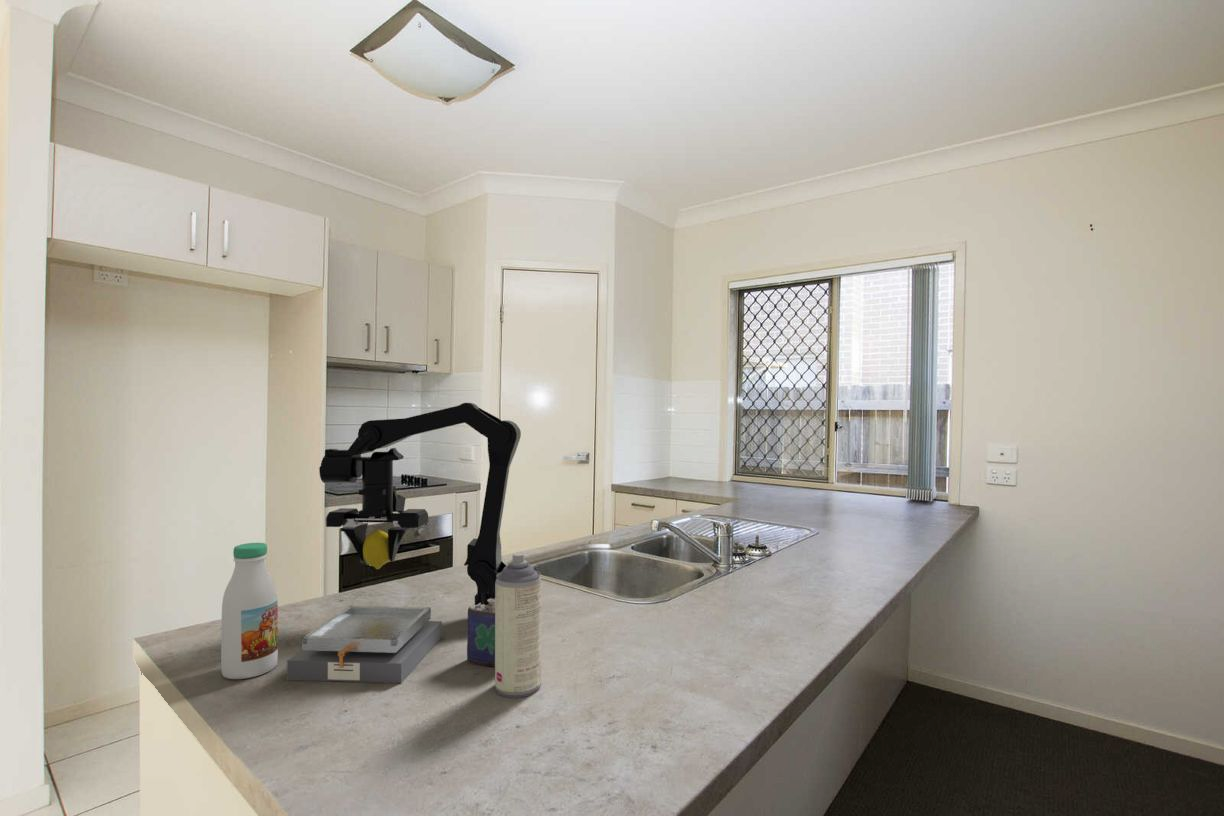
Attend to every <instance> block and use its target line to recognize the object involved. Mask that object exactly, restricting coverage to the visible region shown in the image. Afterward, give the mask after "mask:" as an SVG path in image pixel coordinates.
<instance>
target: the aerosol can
mask: <svg viewBox="0 0 1224 816" xmlns="http://www.w3.org/2000/svg"><path fill="white" fill-rule="evenodd" d="M496 577H497V579H496V582H495V667H494V689H495V693H497V695H500V696H501V697H505V698H510V699H513V698H514V699H517V698H525V697H528V696H531V695H534V694H536V693H538V691H539V690H540V688H541V686H542V685H541V684H542V683H541V682H542V675H541V674H542V579H541V573H540V572H539V570H538V571H537V570H535V568H534V567H533V565H530V563H529V562H528V561H527V560H526V559H525V553H521V552H516V553H512V560H510V562H509V563H508V564H507V566H506V567H505V568H504V569H503V570H502V572H500V573H498V574H497V575H496Z"/></svg>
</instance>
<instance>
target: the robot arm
mask: <svg viewBox="0 0 1224 816" xmlns="http://www.w3.org/2000/svg"><path fill="white" fill-rule="evenodd" d="M461 424H466V425H468V426H469V427H471V428H472V429H473V430H475V431H476V432H477V433H479V434H480V435H482V436H484V437H485V438H487V456H488V462H489V463H488V464H489V465H488V466H489V469H488V474H487V480H486V488H485V494H484V500H483V507H482V513H481V520H480V527H479V532H478V536H477V538H474V537H473V539H471V540H470V542H469V543H468V544H467V548H466V551H467V554H466V555H467V556H466V560H465V562H464V564H463V565H464V566H466V572H467V575H468V577H469V578H470V579H471V581H473V582H474V583H475V585H476V589H477V592H476V594H475V595H474V605H478V604H479V603H481V605H482V604H484V605H485V606H486V605H488V604H489V602H488V601H487V600H488V599H494V598H495V582H496V579H497V577H496V575H497V574H498V573H500V572H502V570H503V569H504V568H505V567H506V566H508V564H507V565H506V563H505V562H503V560H502V544H501V543H502V542H501V534H500V533H501V527H502V519H503V513H504V505H505V499H506V494H507V493H506V492H507V487H508V486H507V485H508V481H509V480H508V479H509V473H510V467H511V464H512V462H513V459H514V456H515V454H516V452H517V449H518V446H519V444H520V441H521V440H520V439H521V435H522V434H521V433H522V432H521V429H520V427H519V426H518V424H517V423H516V422H515V421H511V420H508V419H507V420H505V419H504V420H502V419H501V418H498V417H497V416H495V415H493V414H491V413H489V412H487V411H486V410H484V409H482V408H480V407H478V405H477V404H476V403H472V402H463V403H461V404H459V405H456V406H455V405H454V406H451V407H447V408H442V409H438V410H435V411H431V412H426V413H422V414H417V415H413V416H409V417H404V418H392V419H391V418H390V419H376V420H373V419H371V420H367V421H365V422H363V423H361V424H360V425H361V426H360V428H359V429H358V432H357V437H356V438H355V439H354V441H353V443H352V444H351V445H350V446H349V447H348V449H338V448H328V449H325V450H324V456H323V457H322V460H321V463H320V466H319V467H318V469H319V472H318V473H319V477H320V480H321V481H322V482H321V483H323V484H354V483H356V482H357V481H358V479H359V478H361V489H358V495H359V496H361V510H358V508H357V507H356V508H353V507H352V508H350V507H349V508H348V507H345V508H338V509H335V510H331V511H329V512H328V513H327V514H326V517H325V527H326V528H340V527H341V528H340V529H339V531H340V532H344V533H345V534H346V536H347V538H348V539H349V540H350V542H351V544H352V546H353V547H354V549H355V551H356V553H357V555H358V557H359V559H360V561H361V562H366V561H365V559H364V556H363V545H364V541H365V539H366V537H367V535H366V533H367V529H368V526H369V523H389V524H390V523H392V524H393V526H392V527H391V528H389V529H387V534H388V544H389V558H390V560H389V561H390V562H394V561H395V559H396V556H397V553H398V550H399V548H400V545H401V542H402V539H403V537H404V536H405V534H406V533H407V531H408V530H410V529H415V528H420V527H422V526H424V525H426V524H428V523H429V513H428V511H427V510H426V508H408V509H406V510H405V505H406V497H405V496H403V495H401V494H399V493H397V488H396V485H394V478H393V477H394V474H393V473H394V467H393V463H394V462H393V461H400V460H402V459H404V455H403V454H402V453H400V452H399V451H398V450H397V448H396V447H391V448H390V449H389V450H388V451H376V450H379V449H384V448H388V447H390V446H392V445H393V446H394V445H396V444H397V443H400V442H402V441H404V440H406V439H408V438H410V437H412V436H416V435H419V434H423V433H427V432H431V431H435V430H437V431H438V430H441V429H444V428H448V427H453V426H456V425H461ZM368 453H372V454H371V455H370V456H362V455H363V454H368Z"/></svg>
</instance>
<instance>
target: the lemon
mask: <svg viewBox="0 0 1224 816" xmlns="http://www.w3.org/2000/svg"><path fill="white" fill-rule="evenodd" d="M363 556H364V559H365V561H364V562H366V564H368V566H371V567H374V569H376V570H379V569H381V568H382V567H383V566H385V565H386V564H387V563H389V561H390V558H389V544H388V532H387V533H386V532H385V531H383V530H381V529H380V528H376V529H375V530H373V531H372V532H370V533H369V534H368V535H366V539H365V541H364V545H363Z"/></svg>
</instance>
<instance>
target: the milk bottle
mask: <svg viewBox="0 0 1224 816" xmlns="http://www.w3.org/2000/svg"><path fill="white" fill-rule="evenodd" d="M232 555H233V562H235V563H234V569H233V572H232V575H231V577H230V580H229V581H228V583H227V585H226V588H225V590H224V593H223V596H222V603H221V627H220V628H221V631H220V633H221V635H220V636H221V639H220V642H221V646H220V647H221V649H220V651H221V653H220V654H221V656H220V657H221V659H220V661H221V662H220V663H221V665H220V666H221V668H220V669H221V671H220V672H221V674H222V676H223V678H225V679H229V680H244V679H250V678H254V677H258V676H261V675H264V674H266V673H269V672H271V671H273V670H274V668H275V667H276V666H277V664H278V657H279V654H278V653H279V652H278V651H279V650H278V649H279V646H278V645H279V641H278V640H279V639H278V638H279V635H278V633H279V631H278V630H279V629H278V628H279V626H278V625H279V614H278V613H279V612H278V611H279V610H278V609H279V608H278V607H279V606H278V605H279V604H278V603H279V602H278V592H277V586H276V585H275V584H276V583H275V581H274V580H273V578H272V576H271V574H270V573H269V569H268V567H267V564H266V559H267V557H268V556H267V555H268V545H267V544H266V543H265V542H249V543H248V542H247V543H242V544H239V545H236V546H234V547H233V554H232Z"/></svg>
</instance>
